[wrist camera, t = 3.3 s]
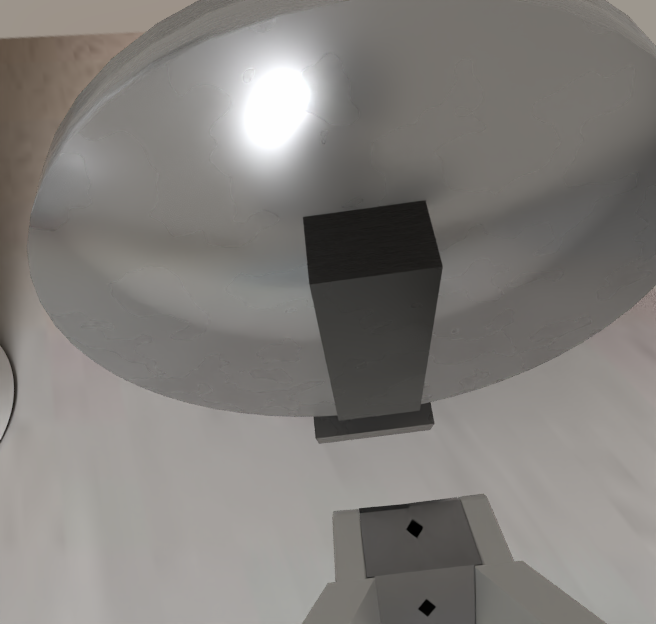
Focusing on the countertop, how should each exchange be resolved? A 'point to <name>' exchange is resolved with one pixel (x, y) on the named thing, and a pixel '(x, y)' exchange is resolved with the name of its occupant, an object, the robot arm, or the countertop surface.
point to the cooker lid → (351, 199)
